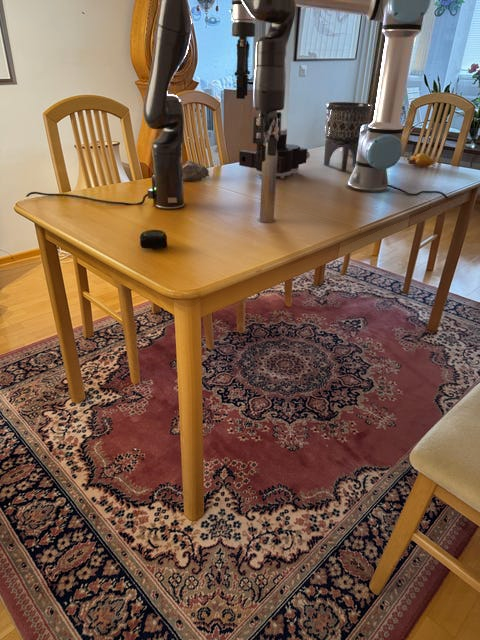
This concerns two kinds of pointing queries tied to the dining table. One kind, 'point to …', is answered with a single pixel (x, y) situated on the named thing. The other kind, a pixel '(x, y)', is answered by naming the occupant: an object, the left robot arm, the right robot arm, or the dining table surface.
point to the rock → (194, 171)
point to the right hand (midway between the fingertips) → (242, 97)
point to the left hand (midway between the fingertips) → (266, 158)
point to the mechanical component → (278, 157)
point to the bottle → (268, 187)
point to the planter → (344, 129)
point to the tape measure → (153, 239)
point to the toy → (420, 160)
